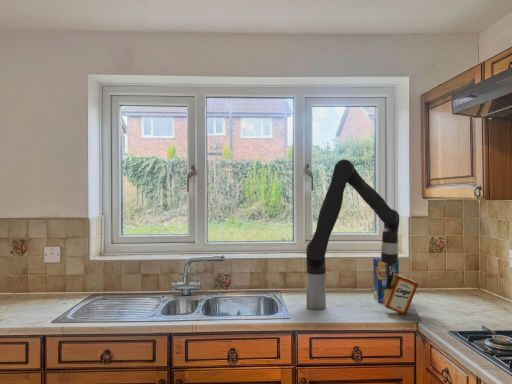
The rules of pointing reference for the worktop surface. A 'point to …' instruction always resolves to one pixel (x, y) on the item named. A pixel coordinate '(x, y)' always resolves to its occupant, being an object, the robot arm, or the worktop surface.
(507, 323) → the worktop surface
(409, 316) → the mat
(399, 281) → the baking soda box
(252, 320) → the worktop surface
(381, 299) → the blue cardboard box
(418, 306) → the worktop surface
